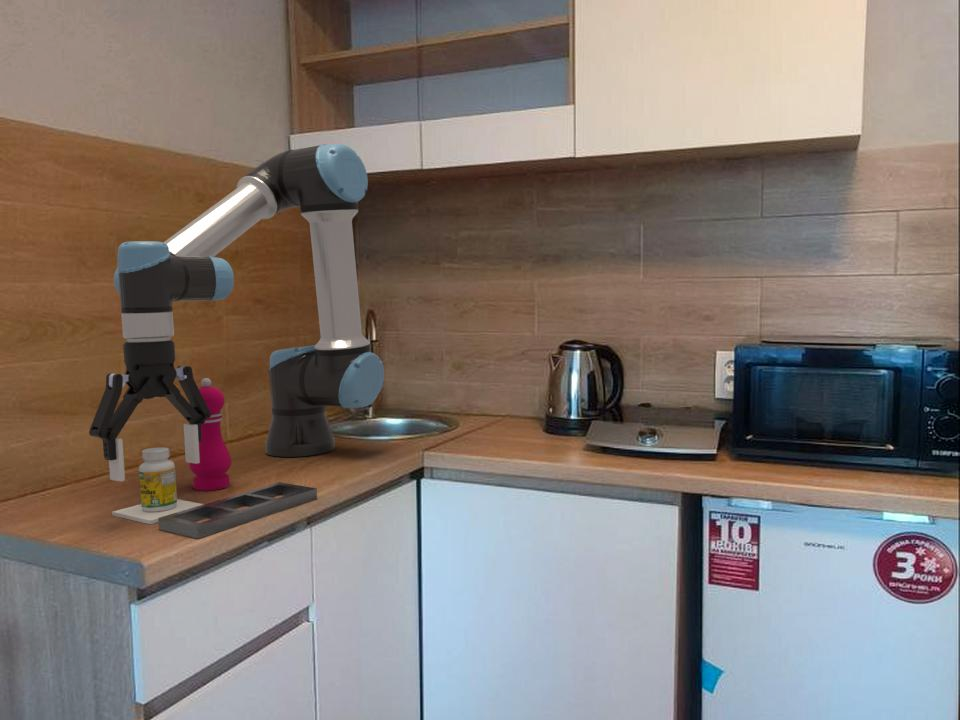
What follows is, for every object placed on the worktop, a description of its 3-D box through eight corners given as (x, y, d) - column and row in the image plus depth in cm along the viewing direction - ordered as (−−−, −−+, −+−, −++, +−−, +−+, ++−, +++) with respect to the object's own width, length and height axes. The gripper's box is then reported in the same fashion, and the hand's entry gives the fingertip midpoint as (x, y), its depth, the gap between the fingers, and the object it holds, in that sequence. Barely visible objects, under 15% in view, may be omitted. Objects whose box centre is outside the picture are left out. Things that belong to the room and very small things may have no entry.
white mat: (167, 500, 131) (167, 496, 131) (205, 508, 126) (205, 504, 126) (112, 515, 123) (112, 511, 123) (150, 524, 117) (150, 520, 117)
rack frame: (279, 492, 135) (279, 482, 135) (317, 498, 130) (316, 488, 130) (158, 529, 115) (158, 517, 114) (197, 538, 110) (197, 526, 110)
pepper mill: (218, 479, 145) (212, 375, 143) (240, 485, 140) (234, 377, 139) (183, 487, 139) (176, 378, 138) (204, 493, 135) (198, 381, 133)
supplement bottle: (184, 505, 125) (181, 447, 124) (156, 514, 120) (152, 454, 120) (162, 502, 128) (158, 445, 127) (134, 510, 123) (130, 451, 122)
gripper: (199, 334, 134) (206, 453, 136) (57, 344, 113) (67, 485, 115) (228, 335, 130) (234, 458, 132) (86, 345, 109) (96, 491, 111)
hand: (156, 471), depth 124 cm, fingers open, 13 cm apart
